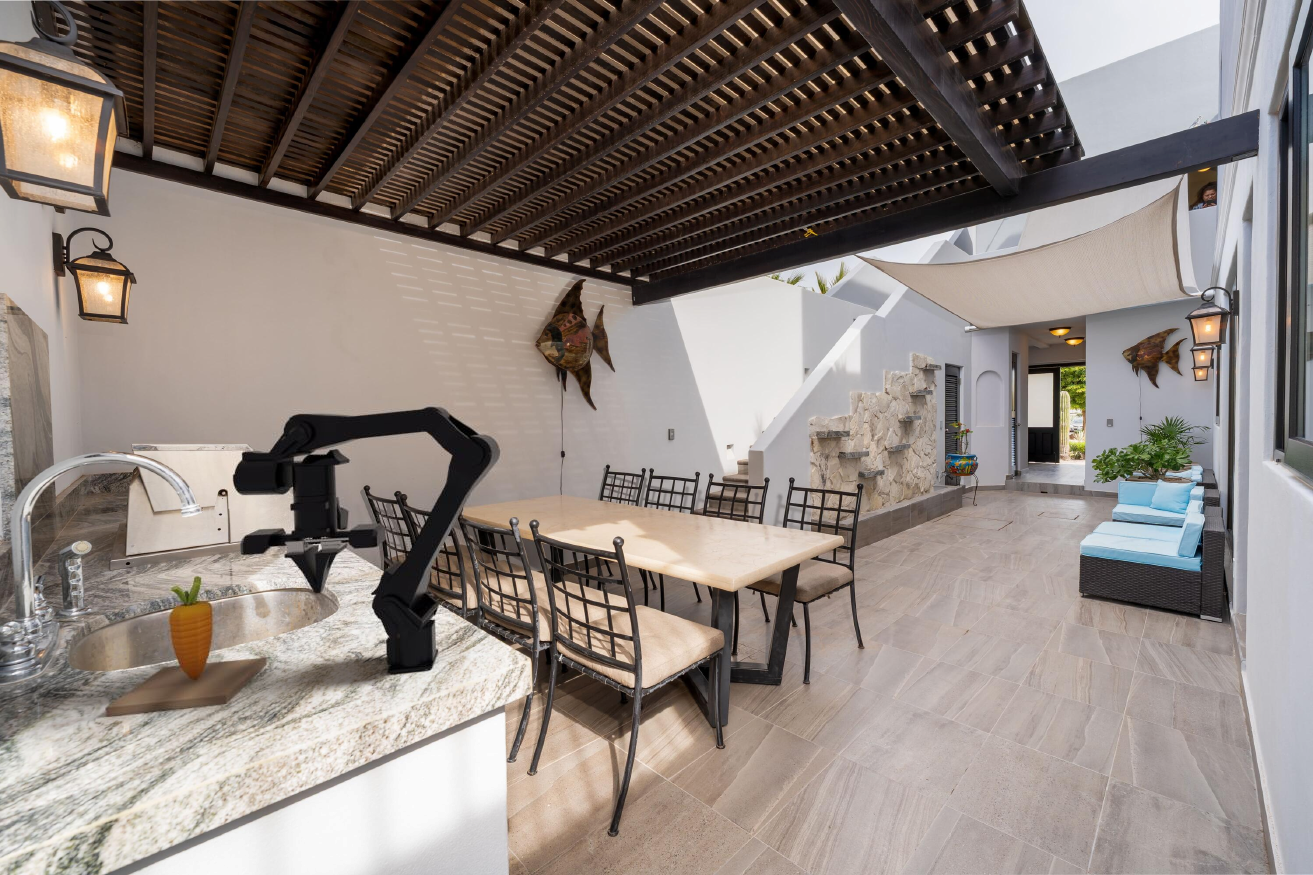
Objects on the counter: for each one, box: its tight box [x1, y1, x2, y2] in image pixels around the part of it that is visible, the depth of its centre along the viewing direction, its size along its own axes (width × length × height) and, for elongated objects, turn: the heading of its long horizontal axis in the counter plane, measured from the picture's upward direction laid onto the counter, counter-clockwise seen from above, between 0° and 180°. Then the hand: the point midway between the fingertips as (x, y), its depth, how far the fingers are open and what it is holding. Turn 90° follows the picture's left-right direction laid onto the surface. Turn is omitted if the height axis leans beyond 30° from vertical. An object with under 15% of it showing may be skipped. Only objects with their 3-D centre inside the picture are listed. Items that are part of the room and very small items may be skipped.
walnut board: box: [105, 657, 268, 717], centre depth 81 cm, size 14×12×1 cm
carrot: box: [168, 575, 214, 680], centre depth 81 cm, size 5×5×15 cm
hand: (318, 592), depth 87 cm, fingers closed
